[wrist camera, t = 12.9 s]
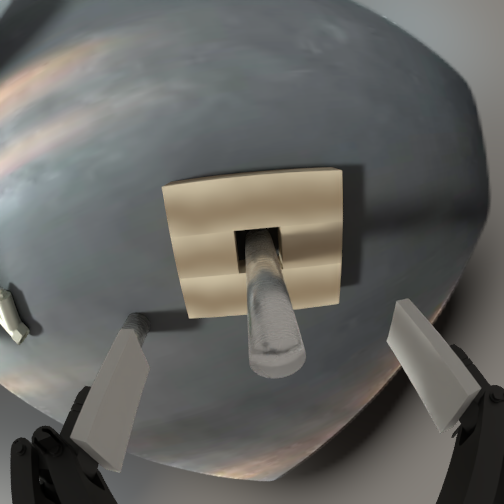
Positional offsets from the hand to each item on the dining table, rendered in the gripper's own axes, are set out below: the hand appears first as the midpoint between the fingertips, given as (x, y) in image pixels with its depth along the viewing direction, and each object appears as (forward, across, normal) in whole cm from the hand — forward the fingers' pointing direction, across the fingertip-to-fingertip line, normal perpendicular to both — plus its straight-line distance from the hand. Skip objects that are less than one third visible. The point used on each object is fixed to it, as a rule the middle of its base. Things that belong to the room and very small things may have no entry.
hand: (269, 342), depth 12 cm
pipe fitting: (+14, -35, -5) cm, 38 cm away
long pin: (+15, 0, 0) cm, 15 cm away
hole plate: (+15, 0, 0) cm, 15 cm away
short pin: (+15, -15, -9) cm, 23 cm away
